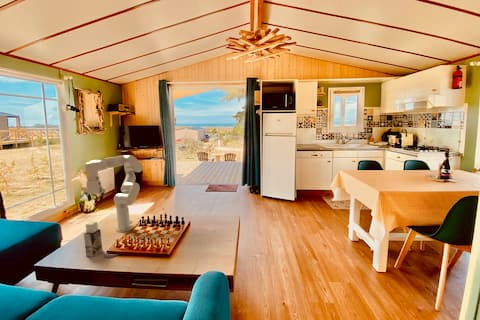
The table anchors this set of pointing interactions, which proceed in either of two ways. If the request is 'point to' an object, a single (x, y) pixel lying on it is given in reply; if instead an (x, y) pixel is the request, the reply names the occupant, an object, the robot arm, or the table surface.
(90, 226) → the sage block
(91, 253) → the coffee box
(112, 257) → the grey round disc
